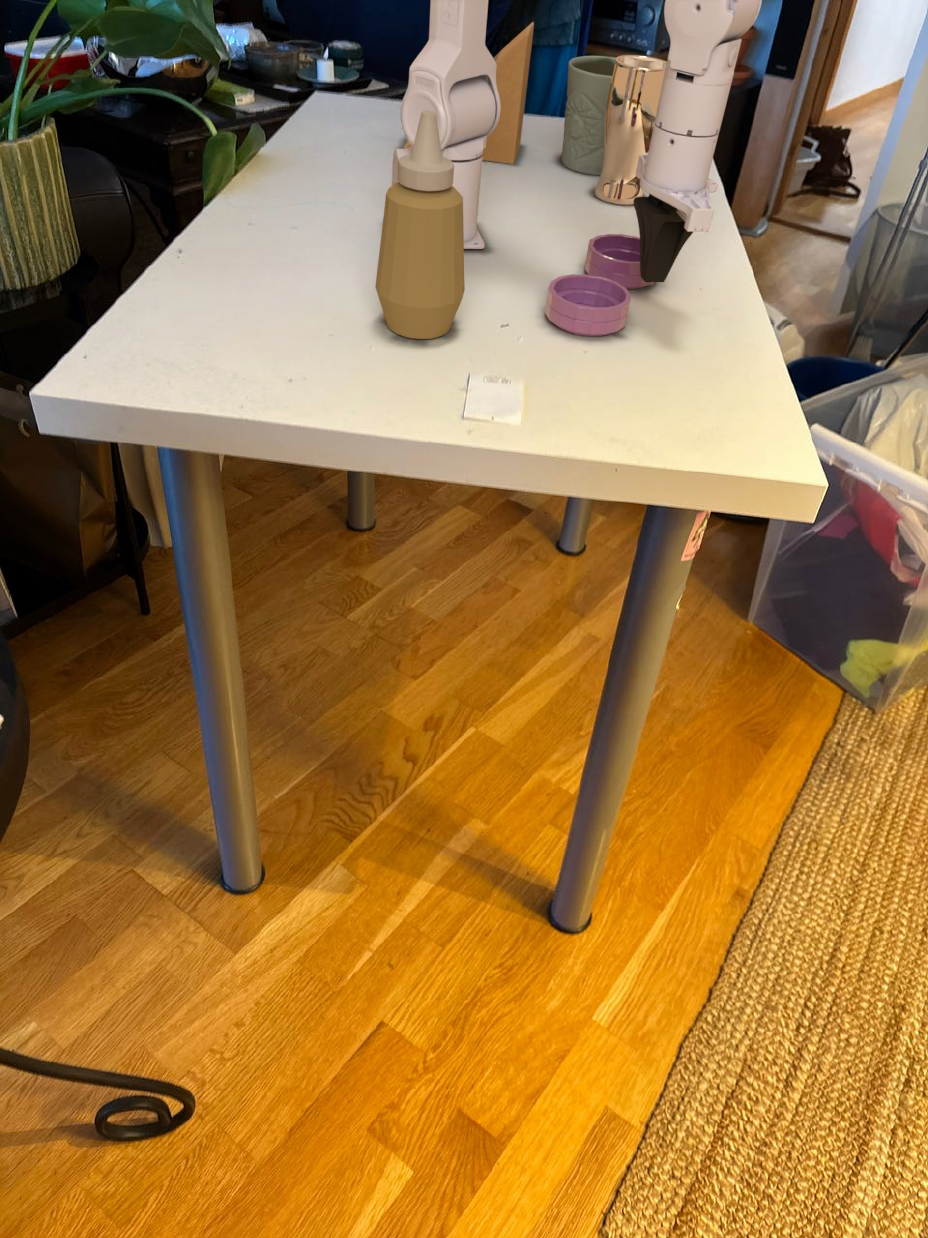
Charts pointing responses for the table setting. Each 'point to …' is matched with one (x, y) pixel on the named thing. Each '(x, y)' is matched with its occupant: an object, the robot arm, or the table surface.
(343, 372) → the table surface
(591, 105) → the green vase
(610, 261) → the dish far
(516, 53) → the sandwich container
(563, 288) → the dish near
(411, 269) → the squeeze bottle
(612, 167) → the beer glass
